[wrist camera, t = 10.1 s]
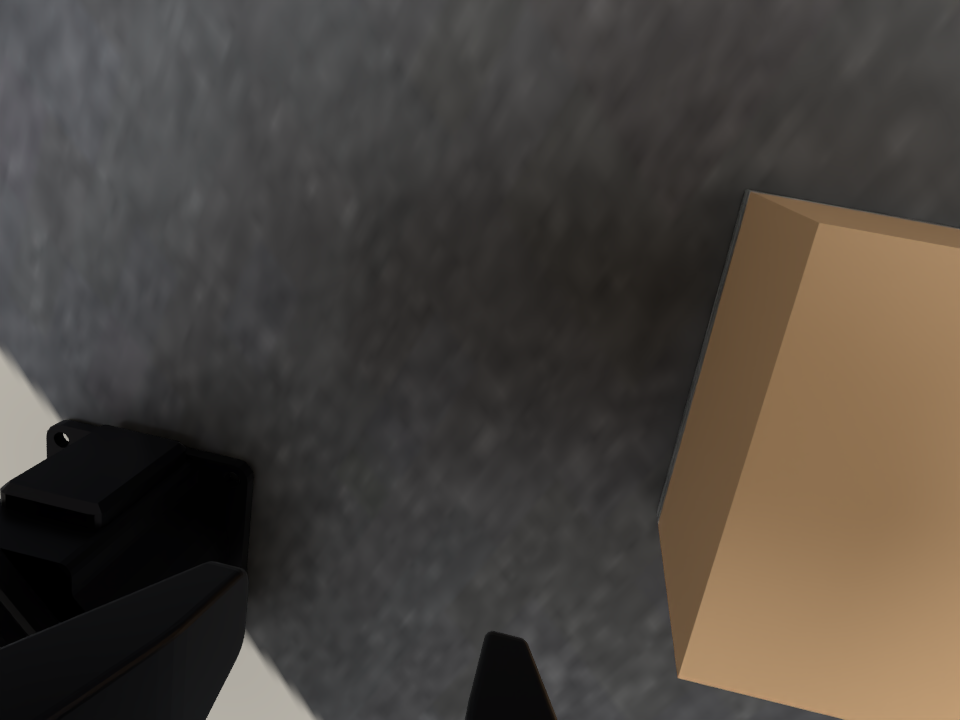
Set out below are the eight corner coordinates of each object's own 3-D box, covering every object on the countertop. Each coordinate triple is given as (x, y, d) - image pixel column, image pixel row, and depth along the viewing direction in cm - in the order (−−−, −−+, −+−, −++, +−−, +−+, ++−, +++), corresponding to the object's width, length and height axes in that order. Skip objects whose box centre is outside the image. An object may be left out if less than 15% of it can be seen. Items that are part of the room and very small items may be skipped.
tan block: (924, 585, 20) (1052, 770, 14) (657, 524, 20) (677, 678, 15) (1066, 248, 17) (1300, 311, 11) (750, 191, 17) (818, 222, 12)
